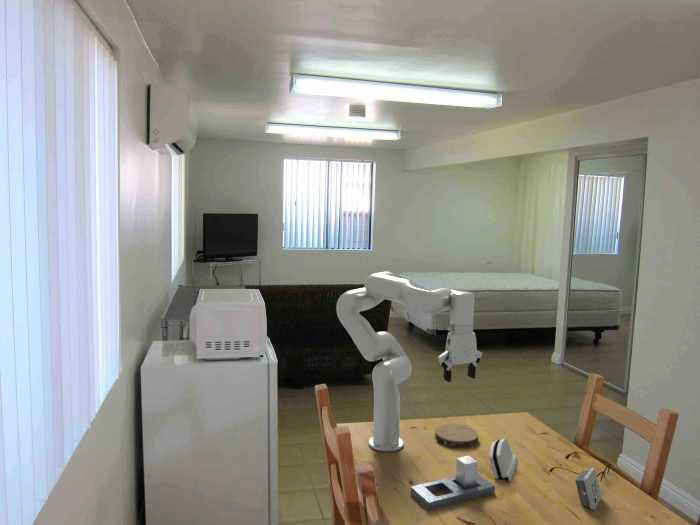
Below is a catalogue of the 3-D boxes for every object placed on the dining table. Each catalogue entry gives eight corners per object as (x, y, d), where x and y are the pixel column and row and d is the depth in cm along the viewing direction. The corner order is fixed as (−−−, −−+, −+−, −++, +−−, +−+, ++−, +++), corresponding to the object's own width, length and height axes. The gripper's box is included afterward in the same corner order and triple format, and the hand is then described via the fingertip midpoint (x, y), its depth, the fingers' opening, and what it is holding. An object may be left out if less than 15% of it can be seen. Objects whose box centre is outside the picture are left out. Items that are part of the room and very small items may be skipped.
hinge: (510, 481, 181) (501, 451, 181) (496, 483, 183) (487, 453, 183) (517, 460, 196) (509, 432, 196) (504, 462, 198) (495, 434, 198)
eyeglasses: (595, 490, 177) (596, 478, 176) (546, 473, 187) (547, 462, 187) (612, 472, 189) (613, 461, 188) (565, 457, 199) (566, 446, 199)
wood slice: (446, 428, 224) (446, 420, 223) (484, 438, 214) (484, 430, 214) (427, 441, 211) (427, 433, 210) (467, 453, 202) (467, 445, 201)
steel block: (455, 488, 176) (456, 458, 174) (467, 486, 177) (468, 455, 176) (464, 495, 171) (465, 464, 170) (476, 492, 173) (477, 461, 172)
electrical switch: (593, 511, 164) (592, 480, 163) (575, 507, 167) (574, 476, 167) (602, 498, 171) (600, 468, 171) (584, 494, 174) (583, 465, 174)
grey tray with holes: (410, 494, 172) (410, 486, 171) (474, 479, 182) (474, 471, 182) (428, 510, 163) (428, 502, 162) (494, 493, 173) (494, 486, 173)
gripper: (446, 333, 179) (444, 385, 181) (489, 329, 186) (487, 379, 188) (433, 328, 185) (431, 378, 187) (475, 324, 193) (473, 373, 195)
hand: (459, 379), depth 188 cm, fingers open, 9 cm apart
